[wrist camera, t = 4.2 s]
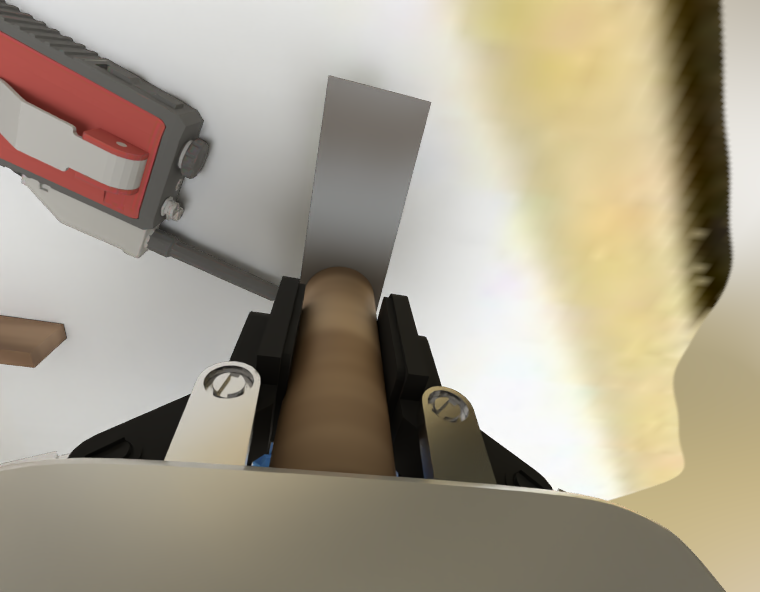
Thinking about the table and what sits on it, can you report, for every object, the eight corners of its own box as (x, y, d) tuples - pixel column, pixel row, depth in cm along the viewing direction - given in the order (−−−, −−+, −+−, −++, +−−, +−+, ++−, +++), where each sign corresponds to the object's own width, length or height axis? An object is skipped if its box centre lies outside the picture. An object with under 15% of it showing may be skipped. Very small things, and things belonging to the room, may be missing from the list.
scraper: (345, 360, 22) (344, 657, 11) (293, 354, 21) (234, 658, 10) (407, 95, 15) (575, 142, 4) (334, 76, 15) (292, 66, 3)
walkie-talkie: (-88, 135, 19) (277, 297, 25) (-196, 150, 15) (263, 337, 22) (-88, -60, 16) (338, 185, 22) (-229, -101, 12) (334, 210, 18)
